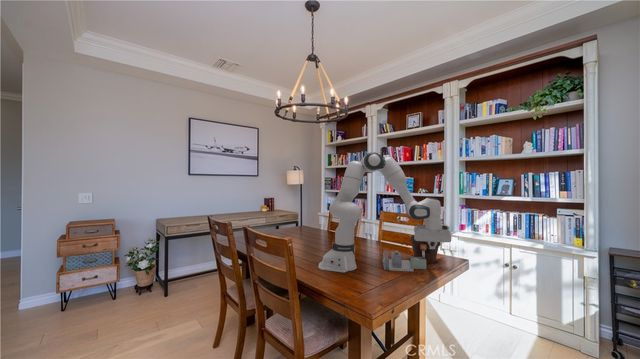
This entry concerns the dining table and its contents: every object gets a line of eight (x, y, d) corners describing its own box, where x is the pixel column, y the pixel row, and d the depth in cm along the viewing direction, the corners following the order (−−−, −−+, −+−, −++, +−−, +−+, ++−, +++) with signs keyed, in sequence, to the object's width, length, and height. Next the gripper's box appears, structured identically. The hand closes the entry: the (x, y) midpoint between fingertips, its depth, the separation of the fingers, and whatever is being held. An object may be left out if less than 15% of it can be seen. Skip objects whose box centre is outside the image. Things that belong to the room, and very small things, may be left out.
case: (432, 255, 183) (432, 229, 182) (446, 265, 163) (445, 235, 162) (406, 255, 183) (406, 229, 183) (416, 265, 163) (416, 236, 163)
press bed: (384, 269, 154) (384, 259, 154) (382, 261, 170) (382, 251, 170) (413, 271, 152) (413, 260, 152) (408, 262, 168) (408, 253, 168)
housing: (392, 265, 158) (393, 252, 158) (391, 261, 166) (391, 249, 166) (401, 265, 157) (401, 253, 157) (399, 261, 165) (400, 249, 165)
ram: (413, 262, 158) (413, 244, 158) (412, 260, 161) (412, 243, 161) (426, 262, 157) (427, 245, 157) (425, 261, 160) (425, 244, 160)
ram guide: (411, 268, 157) (411, 259, 157) (410, 265, 163) (410, 256, 163) (426, 269, 156) (426, 260, 155) (424, 265, 161) (424, 257, 161)
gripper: (414, 225, 156) (414, 249, 156) (452, 227, 153) (452, 251, 153) (413, 223, 162) (412, 246, 162) (449, 225, 159) (448, 248, 159)
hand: (432, 249), depth 158 cm, fingers closed
